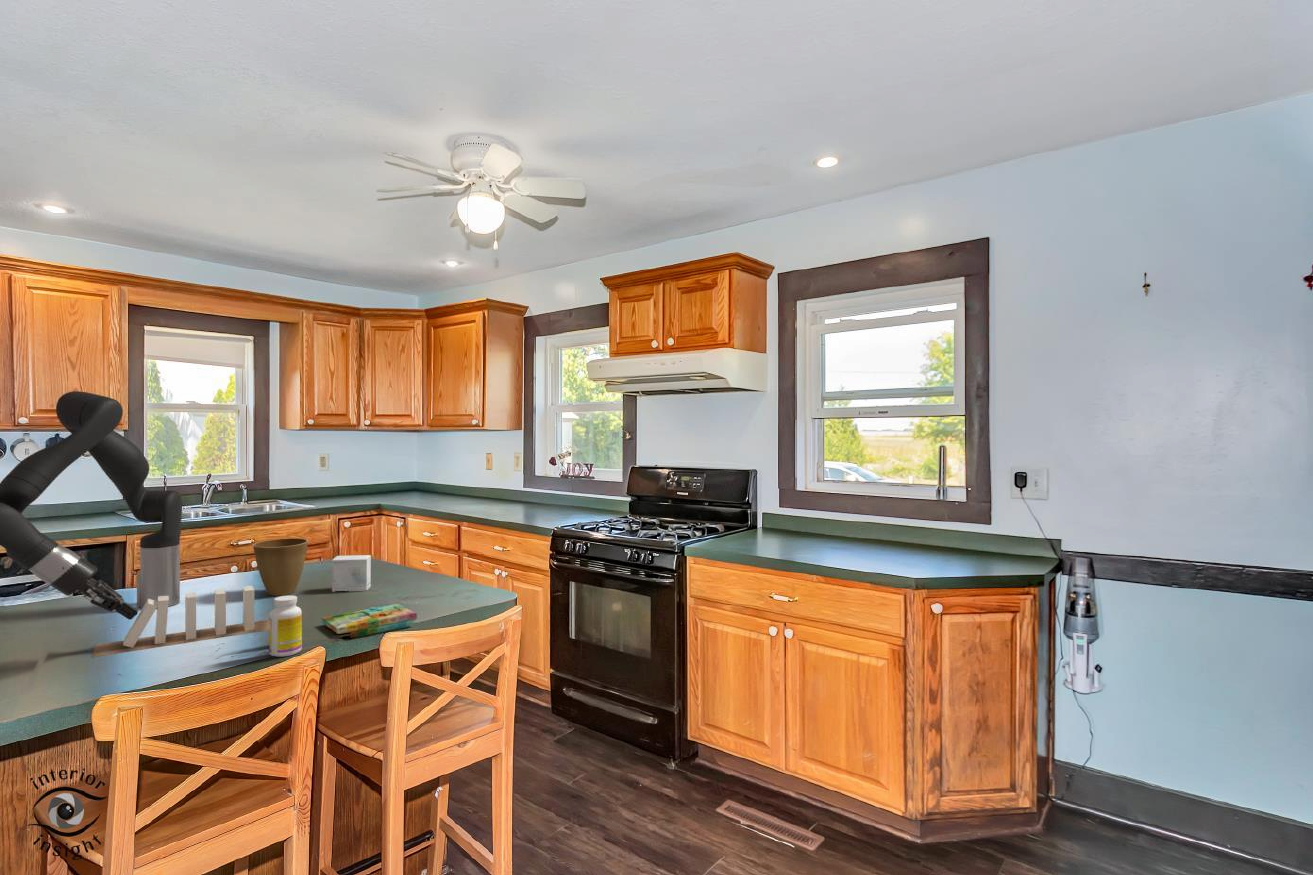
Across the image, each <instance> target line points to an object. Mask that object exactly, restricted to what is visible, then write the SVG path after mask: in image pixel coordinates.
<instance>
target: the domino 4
mask: <svg viewBox="0 0 1313 875" xmlns="http://www.w3.org/2000/svg"><path fill="white" fill-rule="evenodd" d="M226 626H227V593H226V590H225V589H223V588H222V589H215V590H214V627H215V632H216V635H221V634H226Z"/></svg>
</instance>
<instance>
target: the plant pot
mask: <svg viewBox="0 0 1313 875" xmlns="http://www.w3.org/2000/svg"><path fill="white" fill-rule="evenodd" d="M308 544H309V540H308V539H306V538H301V537H299V538H298V537H287V538H275V539H267V540H263V541H258V542H255V543H253V544H252V547H253V552H254V557H255V562H256V567H257V569H258V573H259V576H260V578H261V580H262V583H263V587H264V588H265V591H266V594H267V595H269V596H271V597H281V596H289V595H292V594H294V593H295V592H296V590H297V588H298V585H299V583H300V579H301V577H302V574H303V570H304V567H305V562H306V561H305V560H306V556H307V551H308Z"/></svg>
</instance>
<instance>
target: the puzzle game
mask: <svg viewBox="0 0 1313 875" xmlns="http://www.w3.org/2000/svg"><path fill="white" fill-rule="evenodd" d="M417 617H418V614H417V612H415V611H412V610H411V609H409V608H406V607H404V606H403V605H401V604H399V603H394V604H389V605H384V606H378V607H376V606H375V607H374V606H373V607H370V608H367V609H361V610H357V611H351V612H345V613H340V614H335V615H329V616H325V617H321V621H320V622H321V623H322V624H323V625H324V626H326V627H327V628H329V629H330V630H331V631H333V632H335V633H336V634H339V635H341V634H347V637H349V638H351V639H355V638H359V637H365V636H369V635H375V634H380V633H384V632H390V631H394V630H400V629H404V628H408V627H409V628H410V627H412V625H413V623H414V622H415V621H416V620H417ZM348 633H349V634H348Z"/></svg>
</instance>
